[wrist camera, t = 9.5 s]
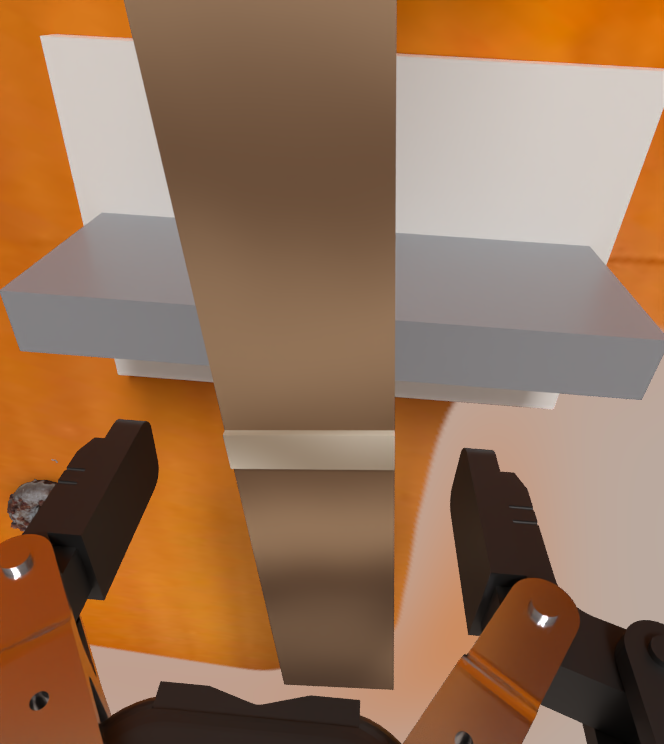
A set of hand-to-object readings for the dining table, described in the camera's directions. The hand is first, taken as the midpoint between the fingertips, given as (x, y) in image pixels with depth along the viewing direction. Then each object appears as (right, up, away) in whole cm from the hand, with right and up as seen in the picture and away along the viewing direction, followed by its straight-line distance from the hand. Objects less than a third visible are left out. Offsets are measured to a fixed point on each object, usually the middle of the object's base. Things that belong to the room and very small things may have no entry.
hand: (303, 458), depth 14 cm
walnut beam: (+1, +3, +4) cm, 5 cm away
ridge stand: (+1, +8, +12) cm, 15 cm away
